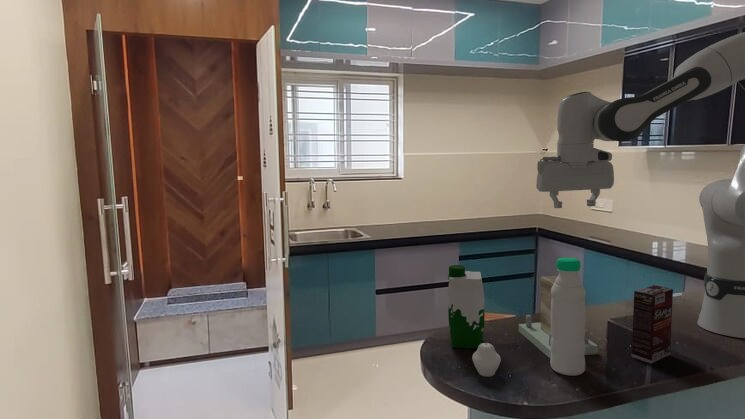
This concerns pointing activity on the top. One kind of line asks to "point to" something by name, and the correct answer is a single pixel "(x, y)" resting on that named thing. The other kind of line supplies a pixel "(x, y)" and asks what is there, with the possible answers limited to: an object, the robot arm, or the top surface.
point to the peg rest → (549, 337)
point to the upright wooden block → (546, 302)
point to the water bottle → (568, 319)
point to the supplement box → (652, 323)
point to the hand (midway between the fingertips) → (574, 207)
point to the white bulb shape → (486, 360)
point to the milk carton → (465, 307)
